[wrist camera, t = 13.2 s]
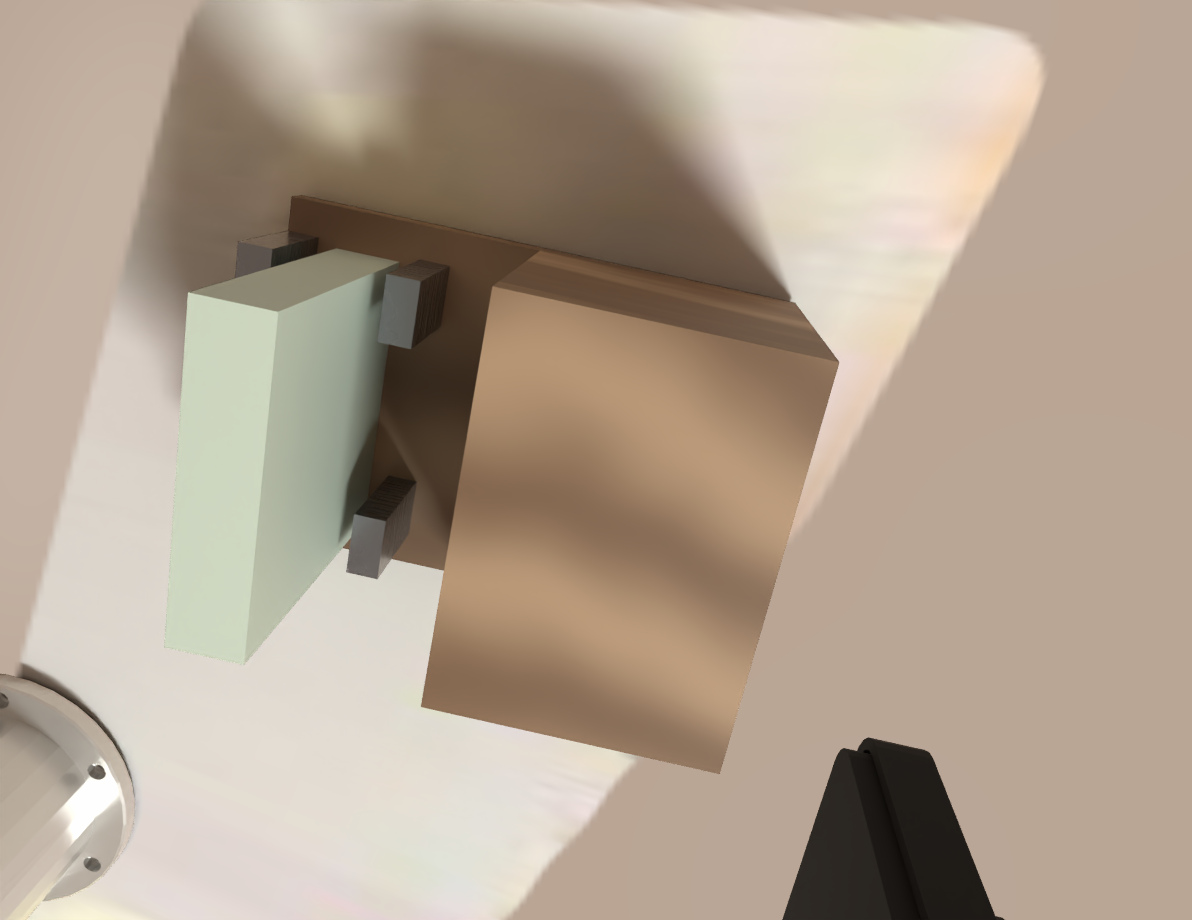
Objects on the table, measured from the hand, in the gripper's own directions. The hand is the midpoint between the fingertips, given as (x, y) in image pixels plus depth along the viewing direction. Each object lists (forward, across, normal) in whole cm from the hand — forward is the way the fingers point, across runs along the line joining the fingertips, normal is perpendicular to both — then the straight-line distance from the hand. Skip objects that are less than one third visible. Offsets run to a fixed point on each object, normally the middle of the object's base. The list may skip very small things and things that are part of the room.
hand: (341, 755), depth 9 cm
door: (+30, +9, +6) cm, 31 cm away
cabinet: (+31, +3, +6) cm, 31 cm away
